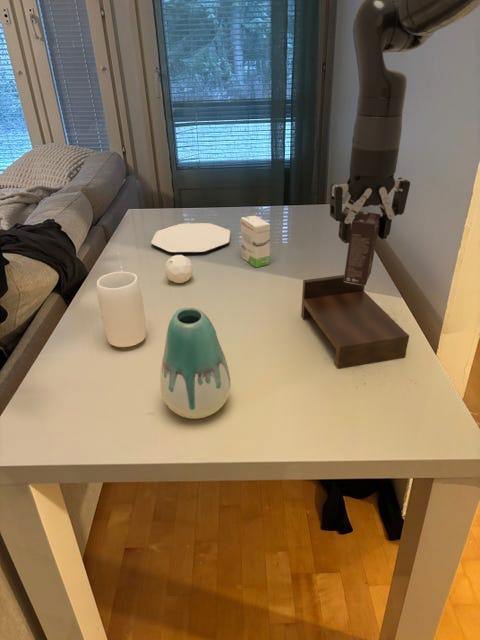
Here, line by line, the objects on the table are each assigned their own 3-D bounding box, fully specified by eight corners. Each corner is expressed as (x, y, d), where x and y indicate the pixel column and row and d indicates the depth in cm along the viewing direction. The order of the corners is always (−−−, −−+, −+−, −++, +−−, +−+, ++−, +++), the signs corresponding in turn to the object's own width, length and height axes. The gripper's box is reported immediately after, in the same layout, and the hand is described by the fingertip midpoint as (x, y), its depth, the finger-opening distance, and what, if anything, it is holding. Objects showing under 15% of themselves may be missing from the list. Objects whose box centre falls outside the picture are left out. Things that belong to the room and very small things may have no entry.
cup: (145, 352, 93) (135, 289, 86) (103, 353, 93) (89, 291, 86) (150, 329, 101) (142, 269, 93) (111, 331, 100) (99, 271, 93)
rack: (359, 307, 106) (363, 272, 102) (405, 357, 90) (413, 317, 85) (301, 316, 104) (303, 280, 99) (337, 369, 87) (341, 328, 83)
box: (367, 286, 86) (375, 223, 79) (342, 282, 87) (349, 220, 81) (373, 273, 90) (381, 213, 84) (349, 269, 92) (356, 210, 86)
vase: (235, 424, 75) (232, 330, 66) (163, 432, 74) (149, 338, 65) (227, 379, 85) (223, 293, 76) (163, 386, 84) (151, 299, 75)
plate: (228, 255, 134) (228, 250, 133) (146, 256, 134) (145, 251, 134) (231, 227, 154) (231, 222, 153) (160, 228, 155) (159, 223, 154)
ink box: (270, 264, 128) (271, 223, 122) (254, 268, 126) (254, 226, 120) (255, 253, 134) (255, 214, 128) (240, 257, 133) (239, 217, 126)
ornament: (198, 283, 118) (182, 267, 112) (173, 291, 121) (156, 275, 115) (198, 261, 122) (183, 244, 115) (174, 269, 124) (157, 252, 118)
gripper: (344, 151, 71) (335, 251, 80) (428, 145, 74) (410, 243, 83) (325, 142, 78) (318, 236, 86) (403, 136, 80) (389, 228, 89)
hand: (363, 239), depth 85 cm, fingers closed on box, 6 cm apart
